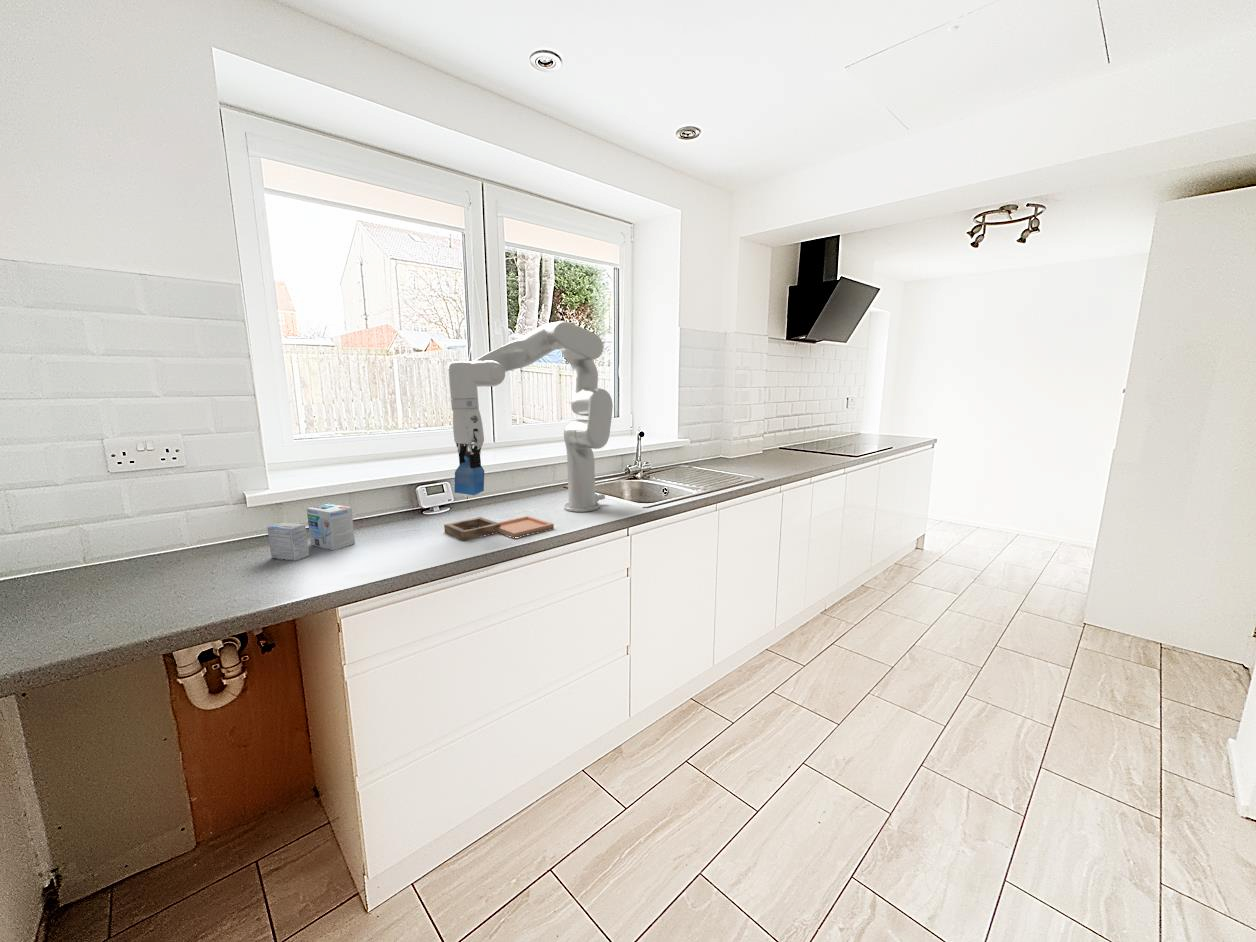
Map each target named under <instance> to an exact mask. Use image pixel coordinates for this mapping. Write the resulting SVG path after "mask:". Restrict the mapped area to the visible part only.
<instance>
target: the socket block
mask: <svg viewBox="0 0 1256 942" xmlns="http://www.w3.org/2000/svg"><path fill="white" fill-rule="evenodd" d="M478 526H480V527H478ZM473 527H474V528H473ZM498 527H501V525H500V524H499V523H498V522H496V521H493V520H491V519H488V518H484V517H482V516H478V517H474V518H470V519H469V518H468V519H464V520H459V521H454V522H450V523H445V524H443V529H444V534H447V535H450V536H452V537H453V538H454V537H455V538H457V539H458V538H459V540H461V541H464V542H465V541H468V539H469V540H473V539H478V538H481V537H480V536H482V537H485V536H484V535H486V536H489V535H488V534H490V535H493V534H492V533H494V534H497V533H496V532H498ZM469 528H470V529H469ZM477 537H478V538H477Z"/></svg>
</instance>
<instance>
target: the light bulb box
mask: <svg viewBox="0 0 1256 942" xmlns="http://www.w3.org/2000/svg"><path fill="white" fill-rule="evenodd" d="M306 514H307V521H308V531H309V539H310V540H309V541H310V545H311V546H314V545H315V546H314V547H317V548H318V547H319V548H322V549H326V550H329V549H330V550H331V551H336V550H339V549H343V548H346V547H349V545H350V546H353V545H355V544H356V541H355V540H356V539H355V529H354V521H353V520H354V519H353V509H352V507H351V506H346V505H340V504H332V503H326V504H321V505H316V506H311V507H306ZM352 544H353V545H352ZM345 546H346V547H345ZM342 547H343V548H342ZM338 548H339V549H338ZM335 549H336V550H335Z"/></svg>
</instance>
